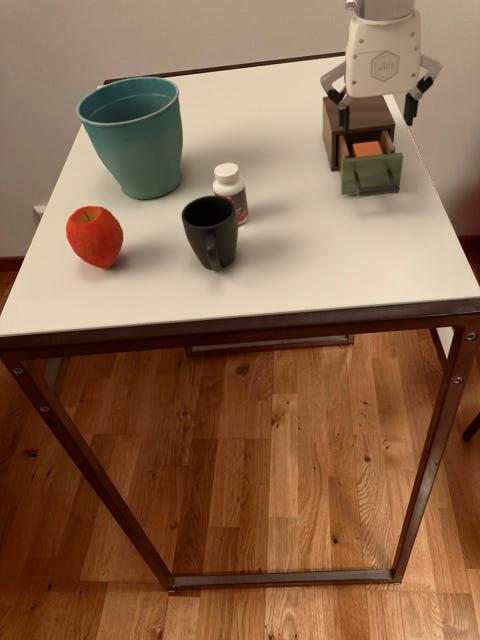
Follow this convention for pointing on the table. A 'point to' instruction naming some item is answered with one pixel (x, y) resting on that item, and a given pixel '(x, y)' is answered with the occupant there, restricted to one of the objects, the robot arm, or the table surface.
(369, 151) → the block
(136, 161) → the flower pot
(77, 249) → the apple
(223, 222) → the mug
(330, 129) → the cabinet
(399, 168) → the drawer
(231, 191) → the pill bottle
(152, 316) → the table surface
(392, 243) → the table surface
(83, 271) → the table surface
